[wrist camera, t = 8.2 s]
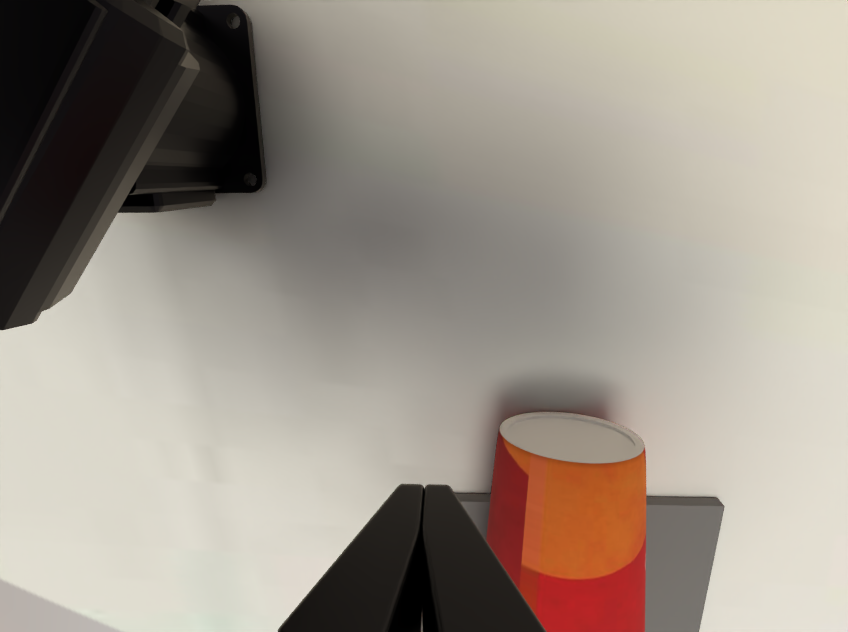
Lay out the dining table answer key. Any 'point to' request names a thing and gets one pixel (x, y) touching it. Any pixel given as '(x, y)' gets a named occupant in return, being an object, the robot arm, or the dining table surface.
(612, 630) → the paper cup
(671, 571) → the mat
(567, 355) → the dining table surface
